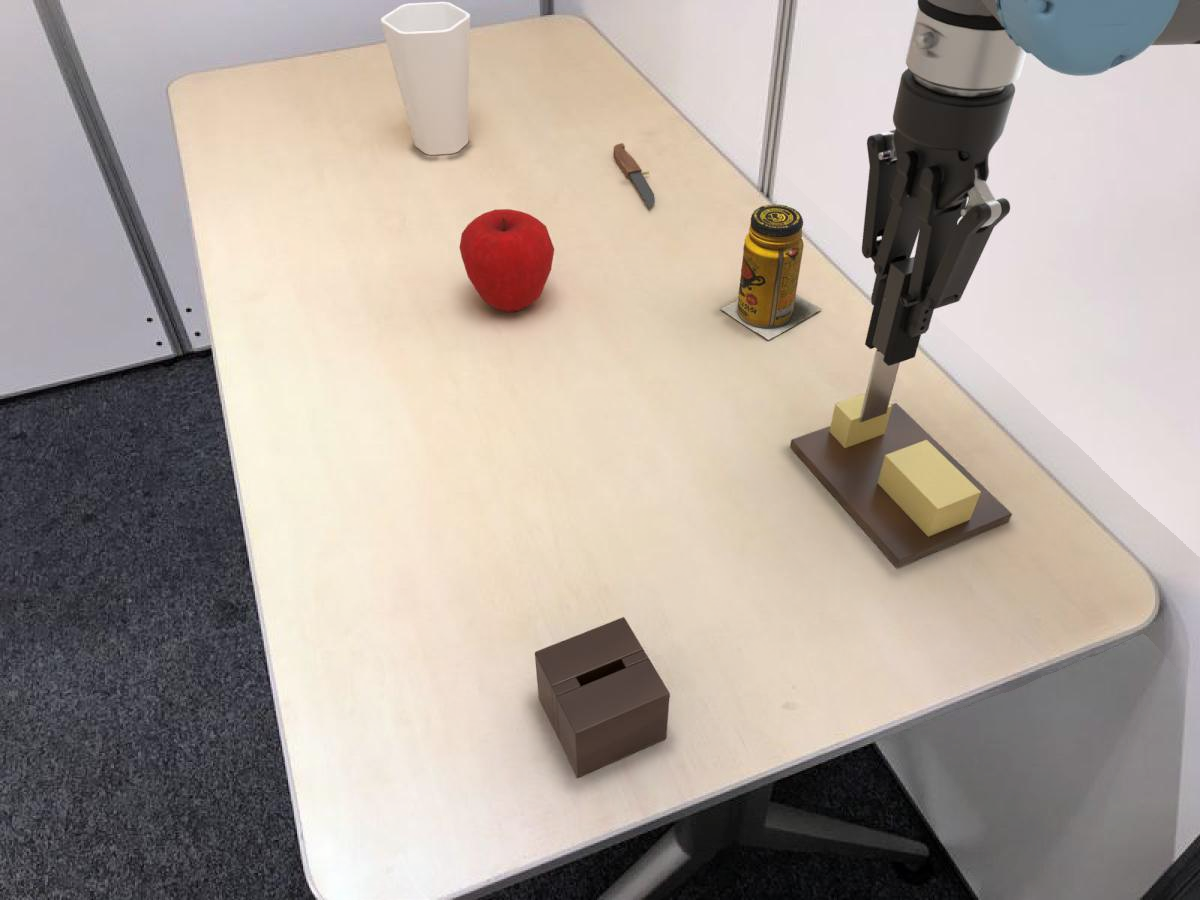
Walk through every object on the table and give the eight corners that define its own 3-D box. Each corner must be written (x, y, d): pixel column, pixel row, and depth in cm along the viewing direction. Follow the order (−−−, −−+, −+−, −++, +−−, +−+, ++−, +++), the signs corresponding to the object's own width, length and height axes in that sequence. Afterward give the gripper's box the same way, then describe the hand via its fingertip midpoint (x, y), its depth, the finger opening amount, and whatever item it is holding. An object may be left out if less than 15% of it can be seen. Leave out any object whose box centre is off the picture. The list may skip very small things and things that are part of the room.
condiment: (719, 310, 106) (729, 213, 97) (773, 281, 110) (787, 186, 101) (768, 341, 102) (782, 243, 93) (822, 311, 106) (840, 214, 97)
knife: (672, 200, 120) (649, 204, 120) (672, 208, 121) (649, 212, 120) (628, 141, 132) (608, 144, 131) (628, 148, 132) (608, 152, 132)
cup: (430, 120, 139) (413, -4, 127) (493, 132, 136) (481, 7, 124) (388, 154, 132) (366, 26, 120) (453, 168, 129) (438, 38, 117)
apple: (572, 295, 108) (569, 209, 100) (517, 338, 102) (510, 250, 95) (504, 267, 112) (497, 181, 105) (448, 306, 107) (436, 219, 99)
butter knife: (891, 418, 87) (932, 266, 76) (866, 427, 86) (904, 275, 75) (879, 406, 88) (918, 255, 77) (853, 415, 87) (889, 263, 76)
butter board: (1009, 521, 84) (1012, 513, 83) (896, 568, 80) (899, 560, 79) (893, 410, 94) (896, 402, 93) (789, 447, 90) (791, 439, 90)
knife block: (666, 738, 69) (670, 693, 65) (577, 778, 67) (575, 734, 63) (623, 663, 74) (624, 616, 69) (538, 697, 71) (534, 651, 67)
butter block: (970, 519, 82) (981, 491, 80) (928, 537, 81) (938, 509, 79) (917, 467, 87) (926, 439, 85) (876, 482, 86) (884, 454, 83)
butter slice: (884, 434, 90) (892, 405, 88) (844, 448, 89) (851, 420, 86) (868, 417, 92) (875, 389, 89) (828, 431, 90) (835, 403, 88)
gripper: (848, 45, 69) (802, 315, 85) (992, 130, 59) (909, 416, 76) (932, 28, 71) (872, 294, 88) (1084, 107, 62) (984, 389, 78)
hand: (889, 350), depth 82 cm, fingers closed on butter knife, 2 cm apart
